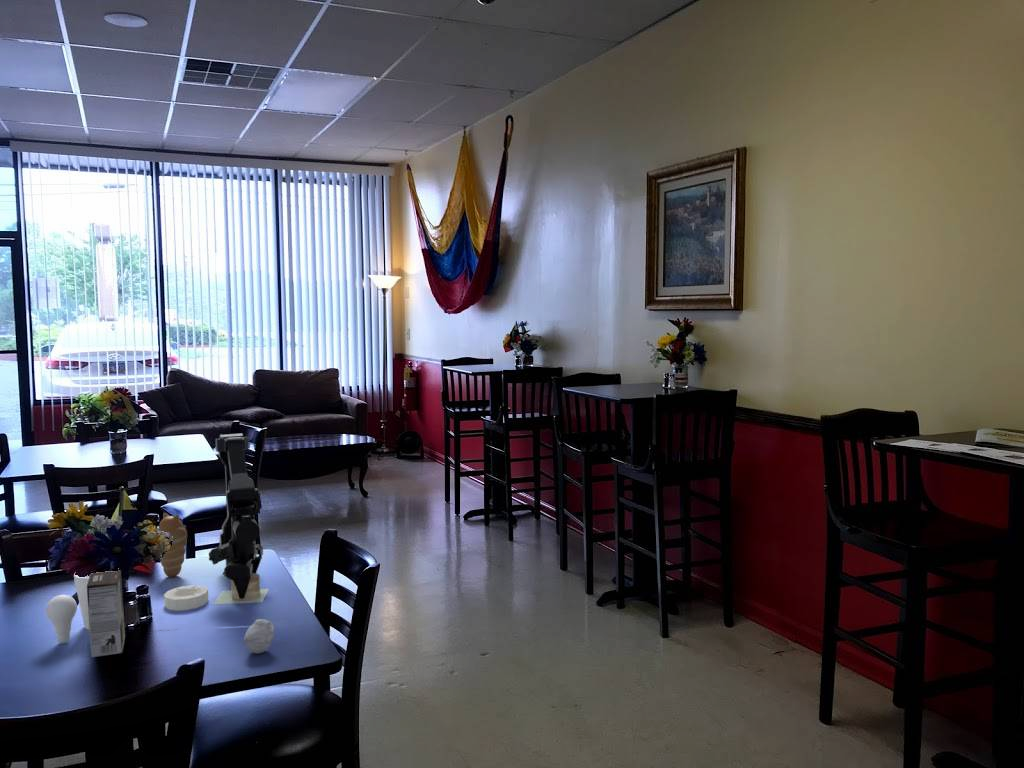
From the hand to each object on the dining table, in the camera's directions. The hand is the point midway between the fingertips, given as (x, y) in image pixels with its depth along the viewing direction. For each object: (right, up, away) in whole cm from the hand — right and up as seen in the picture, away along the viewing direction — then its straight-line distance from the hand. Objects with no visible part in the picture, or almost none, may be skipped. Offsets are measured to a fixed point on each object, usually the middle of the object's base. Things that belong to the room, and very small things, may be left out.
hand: (245, 592), depth 209 cm
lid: (0, -1, 0) cm, 1 cm away
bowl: (-14, -2, -4) cm, 14 cm away
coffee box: (-21, -5, -30) cm, 37 cm away
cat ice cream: (-26, 0, +17) cm, 31 cm away
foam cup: (-29, -4, -17) cm, 34 cm away
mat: (-1, -1, 0) cm, 2 cm away
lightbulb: (-32, -5, -28) cm, 42 cm away
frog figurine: (+14, -5, -33) cm, 36 cm away
